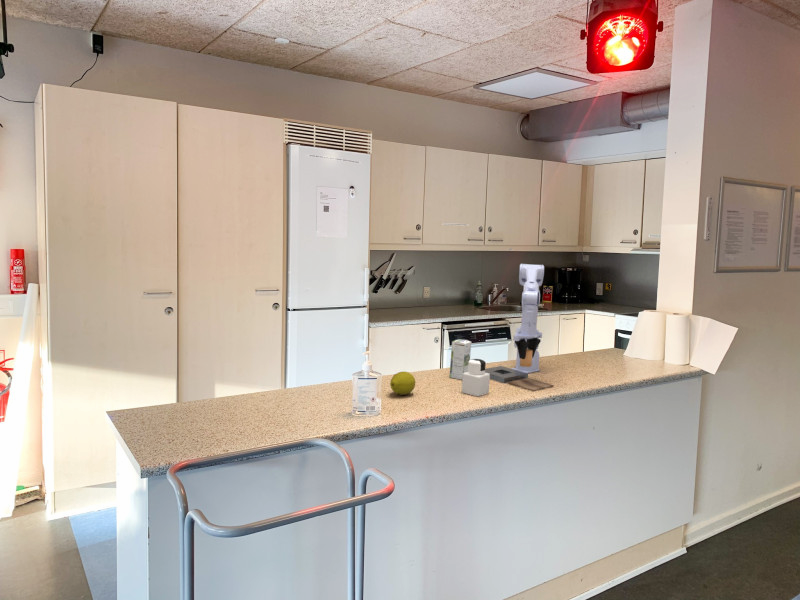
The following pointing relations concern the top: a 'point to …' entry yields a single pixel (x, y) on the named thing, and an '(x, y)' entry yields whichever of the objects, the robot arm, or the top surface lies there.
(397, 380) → the lemon
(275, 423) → the top surface
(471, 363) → the medicine bottle
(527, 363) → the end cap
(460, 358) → the syrup box
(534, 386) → the walnut board
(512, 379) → the socket block
